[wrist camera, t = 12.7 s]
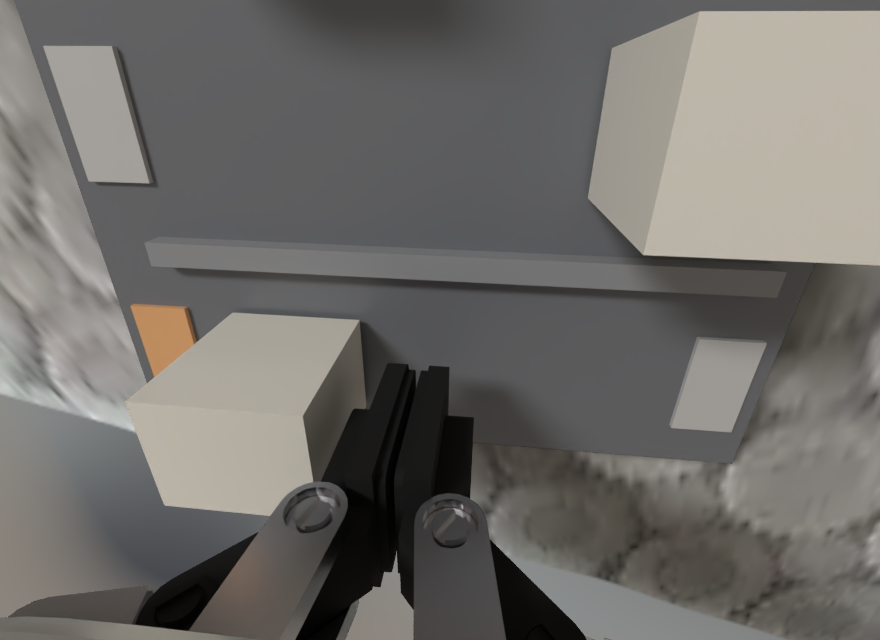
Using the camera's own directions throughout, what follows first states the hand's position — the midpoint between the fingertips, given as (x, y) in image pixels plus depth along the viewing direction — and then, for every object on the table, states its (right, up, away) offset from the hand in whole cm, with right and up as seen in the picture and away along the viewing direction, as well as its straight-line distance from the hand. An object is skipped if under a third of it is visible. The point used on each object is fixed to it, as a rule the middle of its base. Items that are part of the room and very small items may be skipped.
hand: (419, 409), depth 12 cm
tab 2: (+6, +7, -2) cm, 9 cm away
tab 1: (-4, +1, +2) cm, 5 cm away
